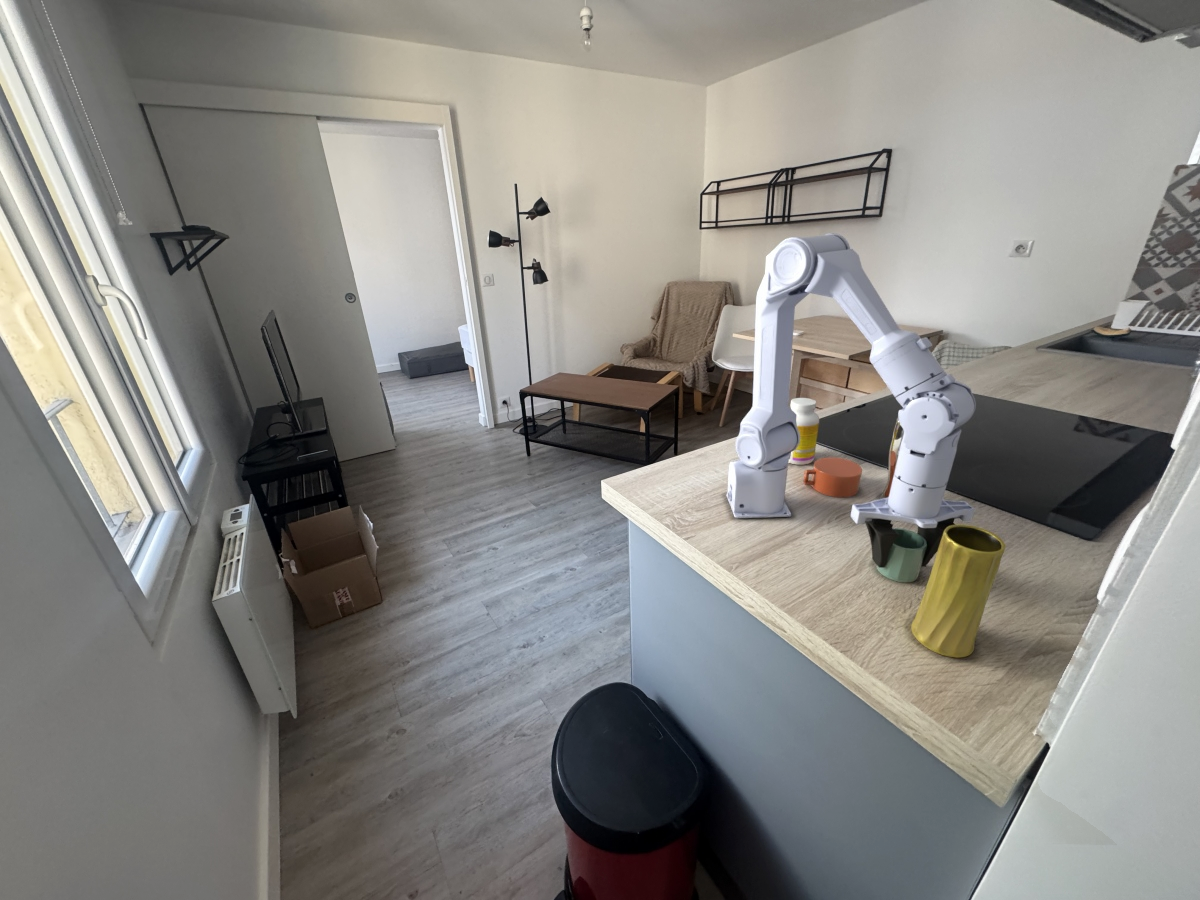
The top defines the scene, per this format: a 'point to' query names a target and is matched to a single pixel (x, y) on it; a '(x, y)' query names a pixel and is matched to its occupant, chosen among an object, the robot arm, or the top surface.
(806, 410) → the supplement bottle
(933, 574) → the vase
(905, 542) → the green faceted cup
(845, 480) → the mug
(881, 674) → the top surface
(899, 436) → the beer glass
